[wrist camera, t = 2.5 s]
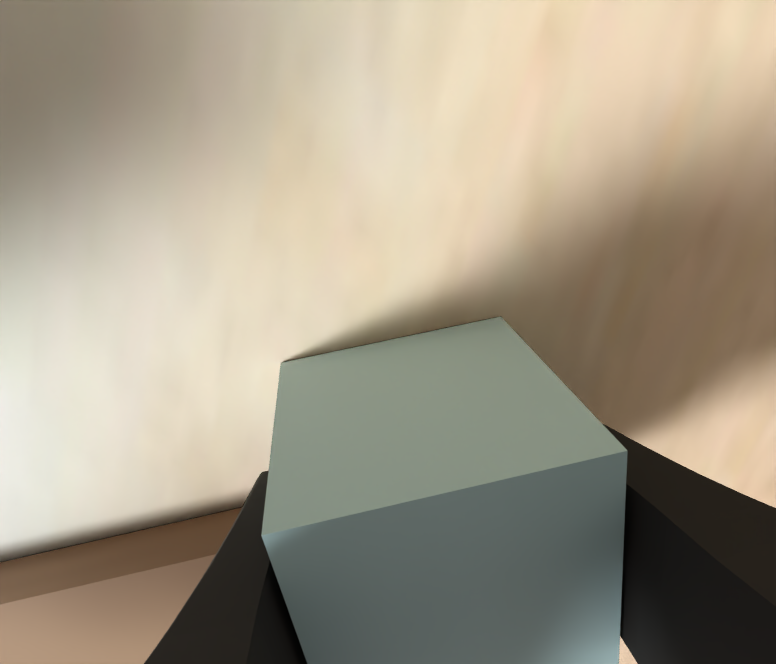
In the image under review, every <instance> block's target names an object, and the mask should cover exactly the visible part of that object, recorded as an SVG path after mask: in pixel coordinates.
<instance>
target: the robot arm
mask: <svg viewBox="0 0 776 664" xmlns="http://www.w3.org/2000/svg"><path fill="white" fill-rule="evenodd" d="M603 425H604V424H603ZM604 426H605V427H606V428H607V429H608V431H609V432H610V433H611V434H612V435H613V436H614V437H615V438H616V439H617V440H618V441H619V442H620V443H621V444H622V445H623V446H624V447H625V449H626V450H627V475H626V499H625V523H624V548H623V572H622V596H621V620H620V636H621V638H622V639H623V641H624V642H625V644H626V646H627V647H628V649H629V650H630V652H631V653H632V655H633V657H634V658H635V660H636V662H637V663H638V664H776V508H774V507H772V506H769V505H767V504H765V503H762V502H760V501H757V500H755V499H753V498H750V497H748V496H746V495H744V494H741V493H739V492H737V491H735V490H733V489H730V488H728V487H726V486H724V485H722V484H720V483H717V482H715V481H713V480H711V479H709V478H707V477H704V476H702V475H700V474H698V473H696V472H694V471H692V470H690V469H688V468H686V467H684V466H682V465H680V464H678V463H676V462H674V461H672V460H670V459H668V458H666V457H664V456H662V455H660V454H658V453H656V452H654V451H652V450H651V449H649V448H647V447H645V446H643V445H641V444H639V443H637V442H635V441H634V440H632V439H630V438H628V437H626V436H624V435H623V434H621V433H619V432H617V431H615V430H613V429H612V428H610V427H608V426H606V425H604ZM268 472H269V471H265V472H262V473H261V474H260V476H259V477H258V479H257V480H256V482H255V484H254V486H253V488H252V490H251V492H250V494H249V496H248V497H247V499H246V501H245V503H244V505H243V507H242V509H241V511H240V512H239V514H238V516H237V518H236V520H235V522H234V523H233V525H232V527H231V529H230V531H229V532H228V534H227V536H226V538H225V539H224V541H223V543H222V544H221V546H220V548H219V550H218V551H217V553H216V555H215V556H214V558H213V560H212V562H211V563H210V565H209V567H208V568H207V570H206V572H205V573H204V575H203V577H202V578H201V580H200V581H199V583H198V584H197V586H196V587H195V589H194V591H193V592H192V594H191V595H190V597H189V598H188V600H187V601H186V603H185V604H184V606H183V607H182V609H181V611H180V612H179V614H178V615H177V617H176V618H175V620H174V621H173V623H172V624H171V626H170V627H169V629H168V630H167V632H166V633H165V634H164V636H163V637H162V639H161V640H160V642H159V643H158V644H157V646H156V647H155V649H154V650H153V652H152V653H151V654H150V656H149V657H148V658H147V660H146V661H145V663H144V664H307V661H306V658H305V655H304V653H303V650H302V647H301V644H300V642H299V639H298V636H297V633H296V630H295V628H294V625H293V622H292V619H291V617H290V614H289V611H288V608H287V605H286V603H285V600H284V597H283V594H282V592H281V589H280V586H279V583H278V580H277V578H276V575H275V572H274V569H273V567H272V564H271V561H270V558H269V555H268V553H267V550H266V547H265V544H264V541H263V539H262V536H261V534H262V525H263V516H264V508H265V499H266V490H267V481H268Z"/></svg>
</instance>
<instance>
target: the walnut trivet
mask: <svg viewBox="0 0 776 664" xmlns="http://www.w3.org/2000/svg"><path fill="white" fill-rule="evenodd" d="M241 509H242V508H237V509H233V510H229V511H224V512H220V513H215V514H211V515H207V516H202V517H198V518H193V519H189V520H185V521H180V522H176V523H171V524H167V525H163V526H158V527H154V528H150V529H145V530H141V531H136V532H132V533H128V534H123V535H119V536H114V537H110V538H106V539H101V540H97V541H92V542H88V543H84V544H79V545H75V546H71V547H66V548H62V549H57V550H53V551H49V552H44V553H40V554H35V555H31V556H27V557H22V558H18V559H13V560H9V561H5V562H0V664H144V663H145V661H146V660H147V658H148V657H149V656H150V654H151V653H152V652H153V650H154V649H155V647H156V646H157V644H158V643H159V642H160V640H161V639H162V637H163V636H164V634H165V633H166V632H167V630H168V629H169V627H170V626H171V624H172V623H173V621H174V620H175V618H176V617H177V615H178V614H179V612H180V611H181V609H182V607H183V606H184V604H185V603H186V601H187V600H188V598H189V597H190V595H191V594H192V592H193V591H194V589H195V587H196V586H197V584H198V583H199V581H200V580H201V578H202V577H203V575H204V573H205V572H206V570H207V568H208V567H209V565H210V563H211V562H212V560H213V558H214V556H215V555H216V553H217V551H218V550H219V548H220V546H221V544H222V543H223V541H224V539H225V538H226V536H227V534H228V532H229V531H230V529H231V527H232V525H233V523H234V522H235V520H236V518H237V516H238V514H239V512H240V511H241Z"/></svg>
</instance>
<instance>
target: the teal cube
mask: <svg viewBox="0 0 776 664" xmlns="http://www.w3.org/2000/svg"><path fill="white" fill-rule="evenodd" d="M626 475H627V450H626V449H625V447H624V446H623V445H622V444H621V443H620V442H619V441H618V440H617V439H616V438H615V437H614V436H613V435H612V434H611V433H610V432H609V431H608V429H607V428H606V427H605V426H604V425H603V424H602V423H601V422H600V421H599V420H598V419H597V418H596V417H595V416H594V415H593V414H592V413H591V411H590V410H589V409H588V408H587V407H586V406H585V405H584V404H583V403H582V402H581V401H580V400H579V399H578V398H577V397H576V396H575V395H574V393H573V392H572V391H571V390H570V389H569V388H568V387H567V386H566V385H565V384H564V383H563V382H562V381H561V380H560V379H559V378H558V377H557V375H556V374H555V373H554V372H553V371H552V370H551V369H550V368H549V367H548V366H547V365H546V364H545V363H544V362H543V361H542V360H541V359H540V357H539V356H538V355H537V354H536V353H535V352H534V351H533V350H532V349H531V348H530V347H529V346H528V345H527V344H526V343H525V342H524V341H523V339H522V338H521V337H520V336H519V335H518V334H517V333H516V332H515V331H514V330H513V329H512V328H511V327H510V326H509V325H508V324H507V323H506V321H505V320H504V319H503V318H502V317H496V318H491V319H487V320H482V321H477V322H472V323H468V324H463V325H458V326H453V327H449V328H444V329H439V330H434V331H430V332H425V333H420V334H415V335H411V336H406V337H401V338H396V339H392V340H387V341H382V342H377V343H373V344H368V345H363V346H358V347H354V348H349V349H344V350H339V351H335V352H330V353H325V354H320V355H316V356H311V357H306V358H301V359H297V360H292V361H287V362H282V363H281V366H280V375H279V384H278V392H277V401H276V410H275V419H274V428H273V437H272V446H271V454H270V463H269V472H268V481H267V490H266V499H265V508H264V516H263V525H262V534H261V536H262V539H263V541H264V544H265V547H266V550H267V553H268V555H269V558H270V561H271V564H272V567H273V569H274V572H275V575H276V578H277V580H278V583H279V586H280V589H281V592H282V594H283V597H284V600H285V603H286V605H287V608H288V611H289V614H290V617H291V619H292V622H293V625H294V628H295V630H296V633H297V636H298V639H299V642H300V644H301V647H302V650H303V653H304V655H305V658H306V661H307V664H619V645H620V620H621V596H622V572H623V548H624V523H625V499H626Z"/></svg>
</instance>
